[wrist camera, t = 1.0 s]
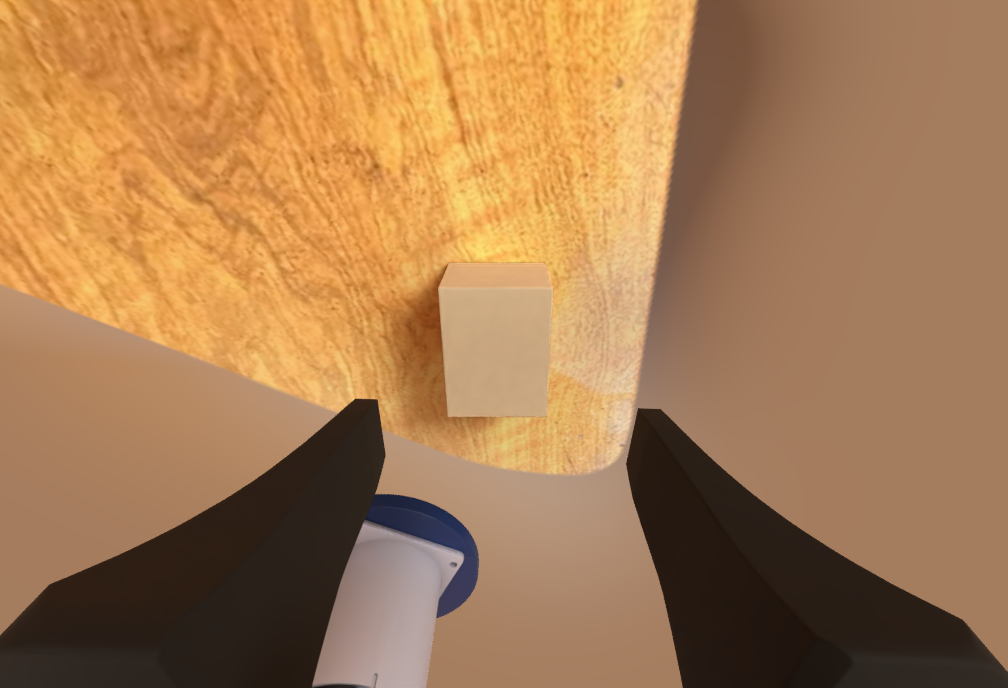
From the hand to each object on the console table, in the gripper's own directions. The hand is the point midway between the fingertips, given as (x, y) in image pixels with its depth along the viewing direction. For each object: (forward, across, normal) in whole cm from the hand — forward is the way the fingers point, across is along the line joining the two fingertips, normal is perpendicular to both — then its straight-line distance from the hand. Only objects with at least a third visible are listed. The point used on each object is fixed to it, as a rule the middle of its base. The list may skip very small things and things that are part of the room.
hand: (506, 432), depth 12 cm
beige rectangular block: (+9, +1, +1) cm, 10 cm away
